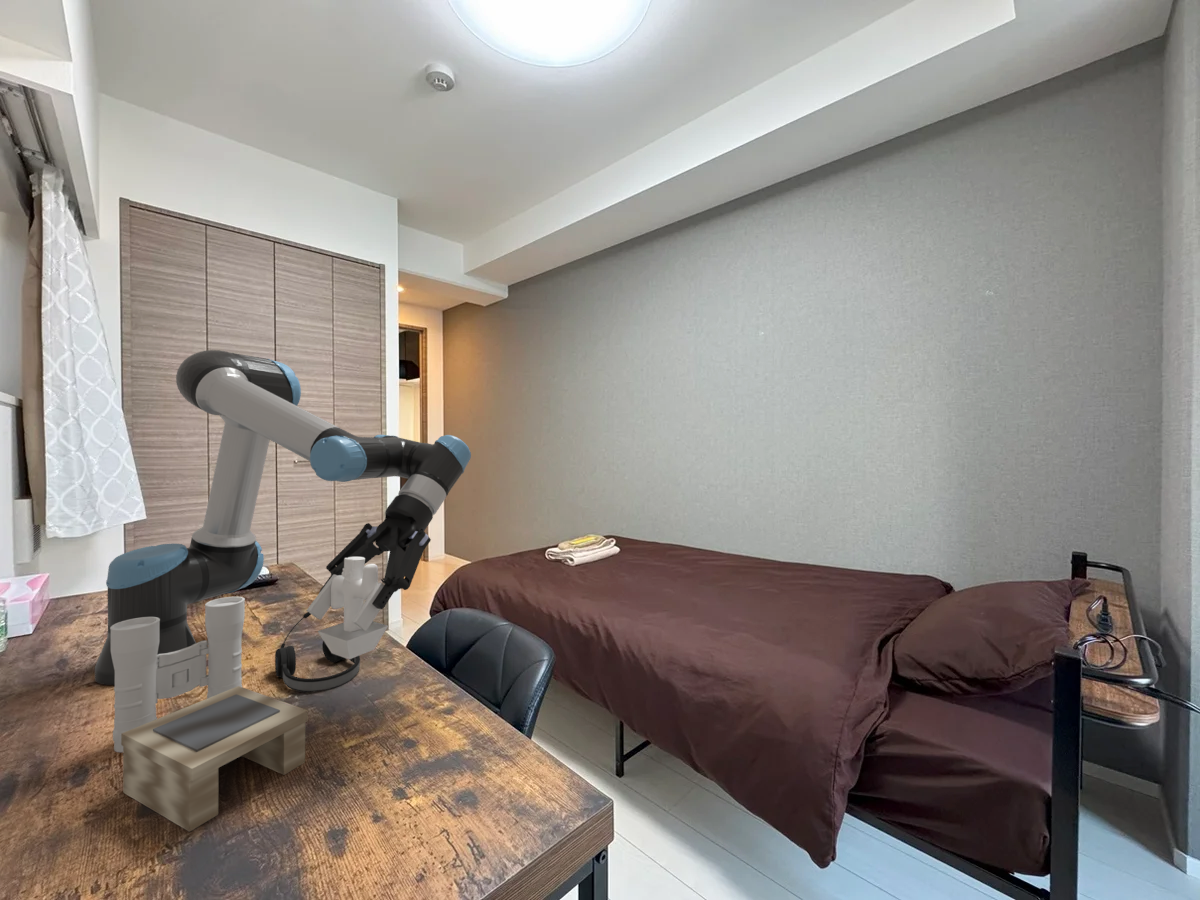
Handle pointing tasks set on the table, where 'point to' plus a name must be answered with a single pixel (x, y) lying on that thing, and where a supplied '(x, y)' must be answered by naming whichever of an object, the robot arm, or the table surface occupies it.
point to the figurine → (353, 610)
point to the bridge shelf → (208, 751)
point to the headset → (286, 669)
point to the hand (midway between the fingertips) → (335, 620)
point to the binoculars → (173, 663)
